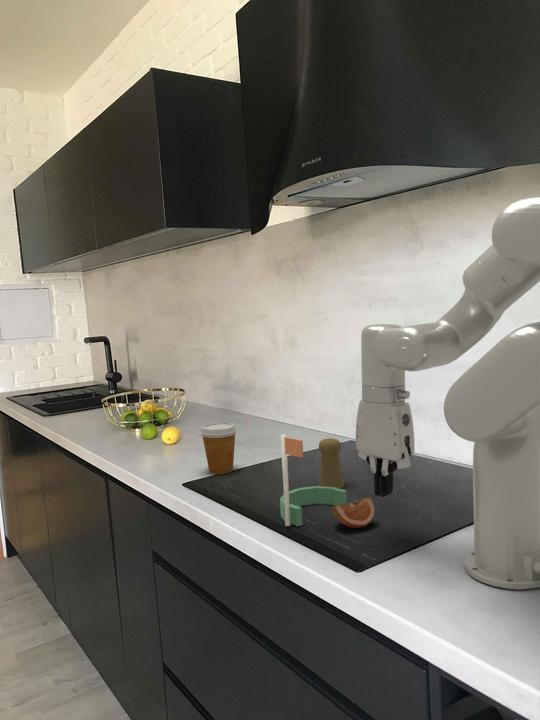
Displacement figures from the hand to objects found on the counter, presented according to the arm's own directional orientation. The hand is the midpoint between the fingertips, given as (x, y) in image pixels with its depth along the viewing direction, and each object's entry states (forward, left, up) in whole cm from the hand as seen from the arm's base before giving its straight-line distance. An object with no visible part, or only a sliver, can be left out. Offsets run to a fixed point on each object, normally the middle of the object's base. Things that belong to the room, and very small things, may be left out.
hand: (383, 494), depth 106 cm
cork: (+27, -16, -8) cm, 33 cm away
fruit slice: (+7, 0, -8) cm, 11 cm away
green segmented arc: (+18, +1, -8) cm, 20 cm away
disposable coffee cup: (+58, -7, -8) cm, 60 cm away
